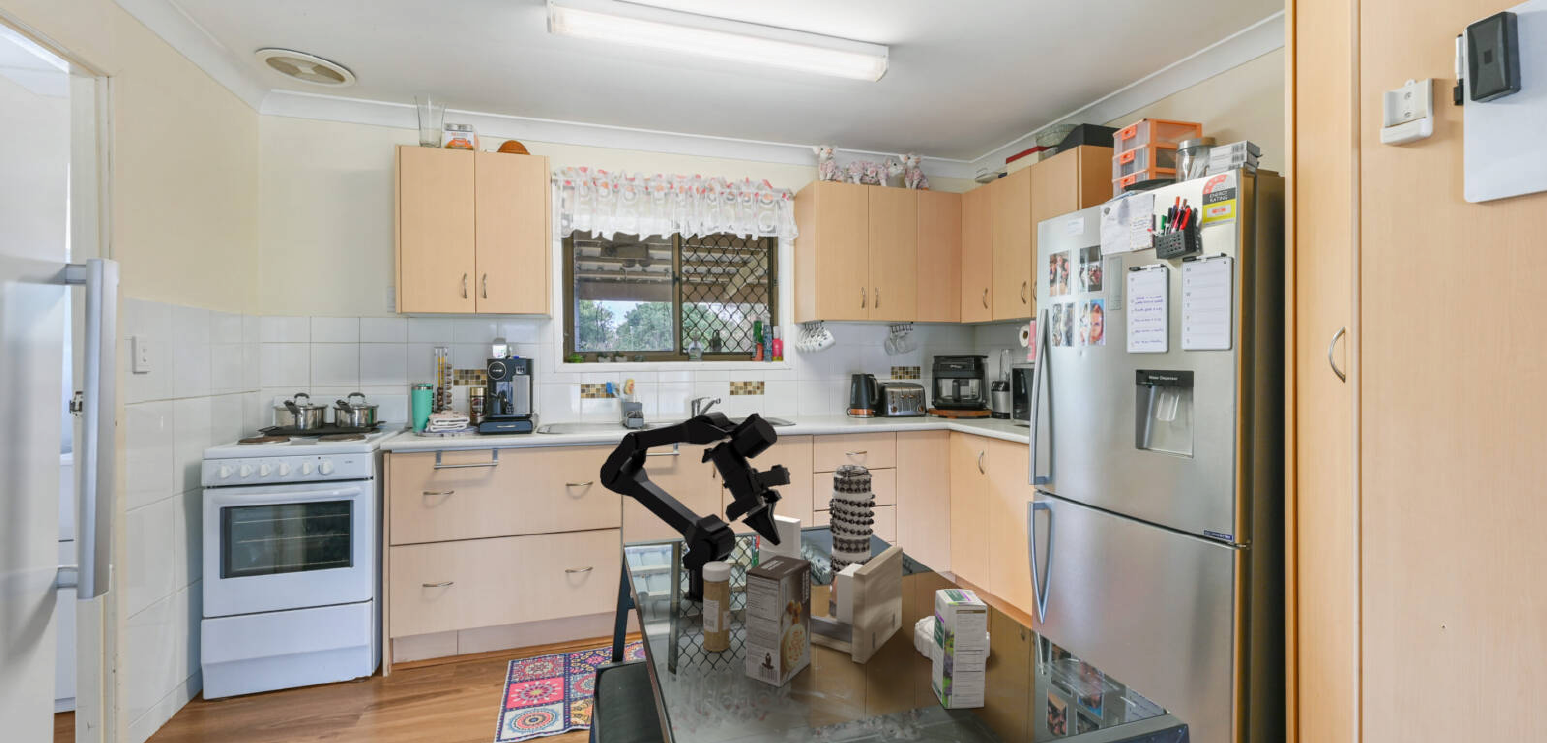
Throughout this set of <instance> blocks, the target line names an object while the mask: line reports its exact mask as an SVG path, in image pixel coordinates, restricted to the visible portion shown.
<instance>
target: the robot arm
mask: <svg viewBox="0 0 1547 743" xmlns="http://www.w3.org/2000/svg"><path fill="white" fill-rule="evenodd" d="M730 438H731V439H730ZM727 439H730V440H729V441H728V442H726V441H725V440H727ZM717 442H718V444H716V445H715V446H714V447H706V448H704V449H703V454H702V458H701V463H702V464H706V463H709V462H710V463H711V462H713V464H714V466H715V467H716V470H717V471H718V473H719V475H720V476H721V478H722V480H723V482H724V483H722V486H723V488H724V489H725V490H726V489H727V490H729V492H730V494H731V495H732V497H733V499H734V501H733V502H731V503H729V504H728V505H726V507H725V508H726V510H725V512H724V513H725V515H726V517H727V519H728V521H729V522H730V523H733V522H736V521H738V518H740V517H742V516H743V515H746V517H745V518H743V519H742V520H741V523H742V524H745V525H746V526H748V528H750V529H752V531H755V532H756V533H757V534H759V536H760V535H761V536H763V537H764V538H765V539H767V540H768V541H769V542H771V543H772V544H773V545H775V546H777V545H779V544H780V543H781V540H780V537H779V533H778V530H777V526H776V523H775V519H774V515H775V514H774V513H775V508H776V506H777V503H778V502H779V501H781V500H782V499H783V496H782V494H780V492H779V489H774V488H772V487H776V486H778V487H780V486H786V485H791V479H790V475H791V473H790V472H789V469H788V466H787V467H785V466H784V467H783V465H782V464H779V463H778V464H774V465H771V468H770V470H769V469H768V470H765V471H761V472H759V470H758V469H757V468H755V467H752V466H751V464H750V463H749V461H748V459H755V458H756V457H757V456H759V455H761V454H763V452H765V451H766V450H768V449H769V448H771V446H774V444H776V443H777V442H778V433H777V432H776V429H775V428H774V426H773V425H771V424H770V422H768V421H767V420H766V419H764V418H762V417H761V416H760V414H759V413H758V412H756V413H755V412H754V413H751V414H750V415H749V416H747V417H746V418H745V420H744V421H742V422H741V423H740V424H739V423H737V422H735V421H732V420H730V419H729V418H728V416H727V415H726V414H725V413H724V412H721V411H716V412H710V413H704V414H703V413H702V414H698V415H696V416H694V417H691V418H689V419H686V420H685V421H683V422H681V423H678V424H675V425H669V426H665V427H658V428H652V429H646V430H642V429H641V430H640V429H639V430H635V431H629V432H628V433H626V434H625V435H624V436H623V438H622V439H621V441H620V443H619V445H618V446H617V447H616V448H615V449H614V450H613V451H612V452H611V453H610V454H609V455H608V457H607V459H606V460H605V462H604V463H603V464H602V465H601V467H600V470H599V478H600V484H601V485H602V487H604V488H605V489H607V490H609V491H610V492H612V493H615V494H616V495H621V496H624V497H625V496H626V497H629V498H632V499H634V500H635V501H637V502H638V503H640V504H641V505H642V506H643V507H645V509H647V510H648V511H650V512H651V513H652V514H654V515H655V516H656V517H658V518H659V519H660V520H662V521H663V522H665V523H666V525H668V526H670V527H671V528H672V529H674V530H675V531H676V532H678V534H680V535H681V536H682V537H683V539H684V541H685V544H686V546H687V548H688V551H687V552H686V553H685V554H684V555H683V556H682V558H681V561H682V564H683V567H684V569H685V570H688V592H686V593H684V594H683V597H684V598H686V599H690V600H694V601H697V602H698V601H699V602H703V595H704V580H703V579H704V578H703V566H704V565H705V564H707V563H710V562H725V561H728V560H729V556H730V554H731V553H732V552H733V551H734V550H735V547H736V544H737V543H736V542H737V539H736V536H735V532H734V530H733V529H732V528H731V527H730V525H731V524H730V523H729V522H726V521H724V520H722V518H720V517H719V516H718V515H717V514H715V513H712V514H711V513H710V514H708V515H707V516H704V517H702V516H700V515H698V514H697V513H695V512H694V511H693V510H692V509H690V508H689V507H687V506H686V505H684V504H683V503H682V502H680V501H679V500H678V499H676V498H675V497H674V496H672V495H671V494H669V493H668V492H667V491H666V490H664V489H663V488H661V487H660V486H658V485H657V484H656V483H654V482H653V481H652V480H651V479H649V476H648V473H647V470H646V468H645V467H644V465H645V463H646V461H647V455H648V454H647V452H648V450H649V448H655V447H661V446H667V445H675V444H687V445H688V444H689V445H698V446H699V445H701V446H703V445H704V446H705V445H709V444H714V443H717Z"/></svg>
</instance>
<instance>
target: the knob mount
mask: <svg viewBox="0 0 1547 743" xmlns="http://www.w3.org/2000/svg"><path fill="white" fill-rule="evenodd" d="M903 553H904V547H901V546H896V545H891V546H889V547H888V548H886V549H885V550H883V551H882V552H881V553H879V554H878V555H877V556H875V557H873V559H872V560H871V561H869V562H868V563H866V564H865V565H863V566H862V567H860V568H859V569H858V570H856V571H855V572H853V625H850V624H846V623H842V622H838V621H836V613H837V604H835V603H834V602H833V600H832V597H831V598H830V599H828V604H829V605H828V614H827V615H825V616H824V617H822V616H818V615H814V614H812V613H811V643H813V644H816V645H820V646H824V647H828V648H830V649H834V650H837V651H841V652H844V653H848V654H851V661H853V662H856V663H859V664H862V665H864V664H866V663H867V661H868V660H870V658H871V657H873V655H874V654H875V653H876V652H877V651H878V650H880V649H881V648H882V646H883V645H885V644H886V642H887V641H888V640H889V639H890V638H891V637H893V635H895V633H896V632H898V630H899V629H901V627H902V621H903V620H902V619H903V618H902V617H903V615H902V612H903V573H904V572H903V565H904V564H903V563H904V561H903V560H904V554H903Z"/></svg>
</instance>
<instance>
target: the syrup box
mask: <svg viewBox="0 0 1547 743" xmlns="http://www.w3.org/2000/svg"><path fill="white" fill-rule="evenodd" d="M934 601H935V603H934V604H935V605H934V608H935V609H934V616H935V623H934V646H933V660H932V677H931V678H932V679H931V680H932V683H931V684H932V685H931V687H932V690H933V691H934V693H935V695H936V696H937V698H938V700H939V701H940V703H941V705H942V706H943V708H944V709H946V710H952V709H953V710H954V709H971V708H972V709H973V708H984V707H985V705H984V704H985V690H986V687H985V684H986V663H987V662H986V661H987V659H986V637H987V632H988V631H987V629H988V608H989V607H988V604H986V603H985V602H984V601H983V600H982V599H981V598H980V597H979V595H977V594H976V593H975V592H974V591H973V590H969V589H961V588H960V589H959V588H949V589H947V588H946V589H938V590H935V600H934Z"/></svg>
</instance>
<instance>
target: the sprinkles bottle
mask: <svg viewBox="0 0 1547 743" xmlns="http://www.w3.org/2000/svg"><path fill="white" fill-rule="evenodd" d="M731 577H732V566H731V564H729V563H728V562H725V561H723V562H710V563H707V564H705V565H704V566H703V578H704V579H703V580H704V595H703V603H702V604H703V606H702V607H703V609H702V611H703V618H702V621H703V642H702V646H703V648H704V649H705V650H706V651H708V652H713V653H717V652H723V651H726V650H729V648H730V646H731V640H730V639H731V637H730V635H731V632H730V627H731V597H730V593H731V592H730V589H731V588H730V587H731V586H730V580H731Z"/></svg>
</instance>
